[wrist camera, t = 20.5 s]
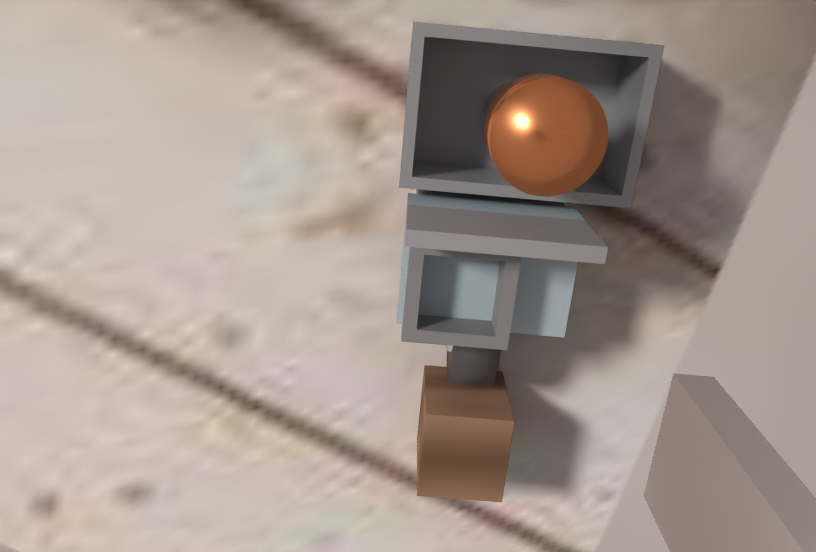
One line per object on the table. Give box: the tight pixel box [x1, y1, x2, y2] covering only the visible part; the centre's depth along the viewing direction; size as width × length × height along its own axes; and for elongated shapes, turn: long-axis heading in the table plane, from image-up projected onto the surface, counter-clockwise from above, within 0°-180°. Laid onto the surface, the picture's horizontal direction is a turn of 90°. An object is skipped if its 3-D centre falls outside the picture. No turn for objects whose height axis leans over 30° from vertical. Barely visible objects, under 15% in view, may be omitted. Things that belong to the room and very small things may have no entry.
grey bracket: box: [397, 189, 608, 386], centre depth 38 cm, size 11×9×10 cm
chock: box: [417, 365, 514, 502], centre depth 43 cm, size 6×5×6 cm
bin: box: [399, 22, 664, 208], centre depth 37 cm, size 8×12×5 cm, turn 85°
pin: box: [484, 73, 608, 197], centre depth 34 cm, size 5×5×11 cm
